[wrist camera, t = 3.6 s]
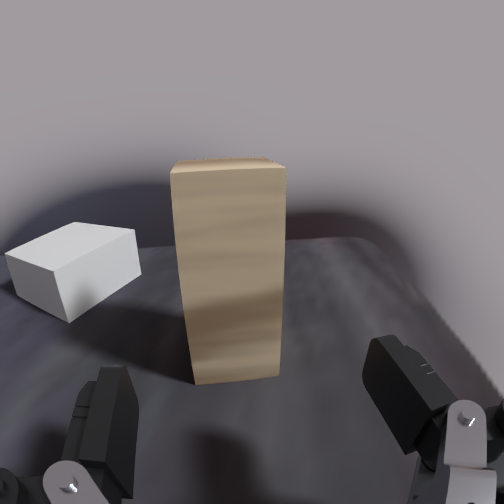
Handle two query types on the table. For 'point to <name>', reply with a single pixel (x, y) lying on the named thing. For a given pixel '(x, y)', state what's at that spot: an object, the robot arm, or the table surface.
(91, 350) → the table surface
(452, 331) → the table surface
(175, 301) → the table surface
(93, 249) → the grey base block
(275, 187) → the maple pillar
